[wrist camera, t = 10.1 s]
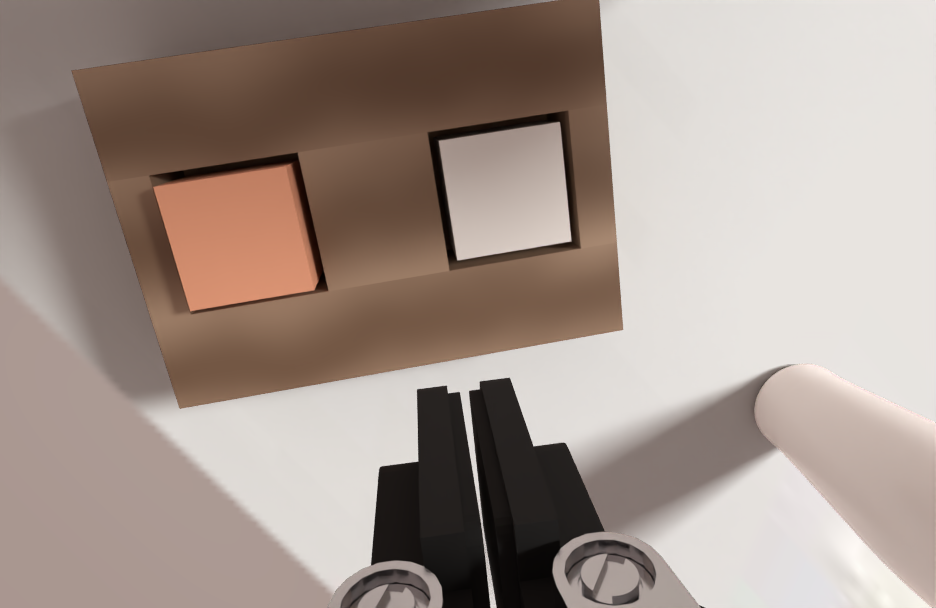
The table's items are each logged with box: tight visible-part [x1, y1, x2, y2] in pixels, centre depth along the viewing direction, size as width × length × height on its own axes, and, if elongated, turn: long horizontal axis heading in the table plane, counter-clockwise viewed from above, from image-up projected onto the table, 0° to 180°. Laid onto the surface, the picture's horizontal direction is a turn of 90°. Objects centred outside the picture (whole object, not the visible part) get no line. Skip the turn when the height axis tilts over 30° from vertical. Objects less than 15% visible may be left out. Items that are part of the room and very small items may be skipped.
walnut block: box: [72, 0, 623, 409], centre depth 29 cm, size 14×20×6 cm
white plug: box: [433, 121, 571, 260], centre depth 28 cm, size 5×5×4 cm
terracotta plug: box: [153, 159, 324, 311], centre depth 27 cm, size 5×5×4 cm
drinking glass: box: [754, 364, 936, 608], centre depth 31 cm, size 7×7×15 cm
